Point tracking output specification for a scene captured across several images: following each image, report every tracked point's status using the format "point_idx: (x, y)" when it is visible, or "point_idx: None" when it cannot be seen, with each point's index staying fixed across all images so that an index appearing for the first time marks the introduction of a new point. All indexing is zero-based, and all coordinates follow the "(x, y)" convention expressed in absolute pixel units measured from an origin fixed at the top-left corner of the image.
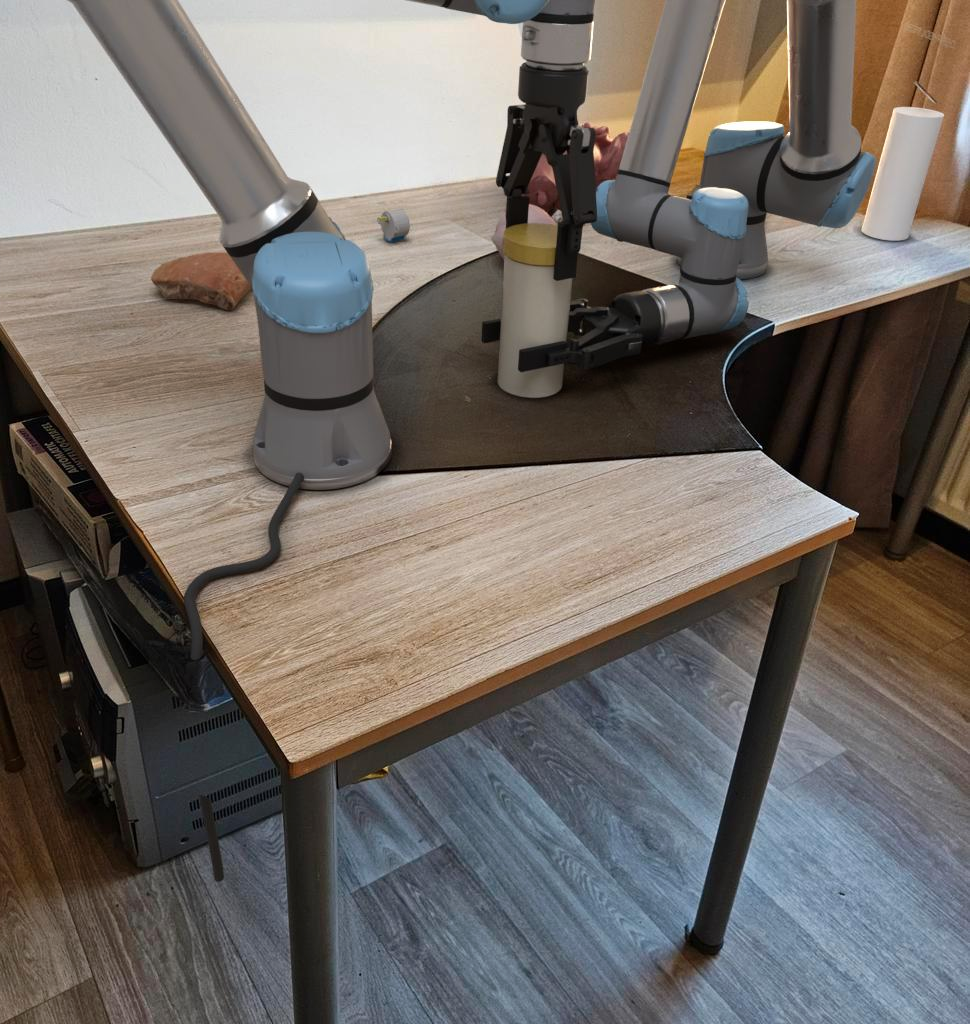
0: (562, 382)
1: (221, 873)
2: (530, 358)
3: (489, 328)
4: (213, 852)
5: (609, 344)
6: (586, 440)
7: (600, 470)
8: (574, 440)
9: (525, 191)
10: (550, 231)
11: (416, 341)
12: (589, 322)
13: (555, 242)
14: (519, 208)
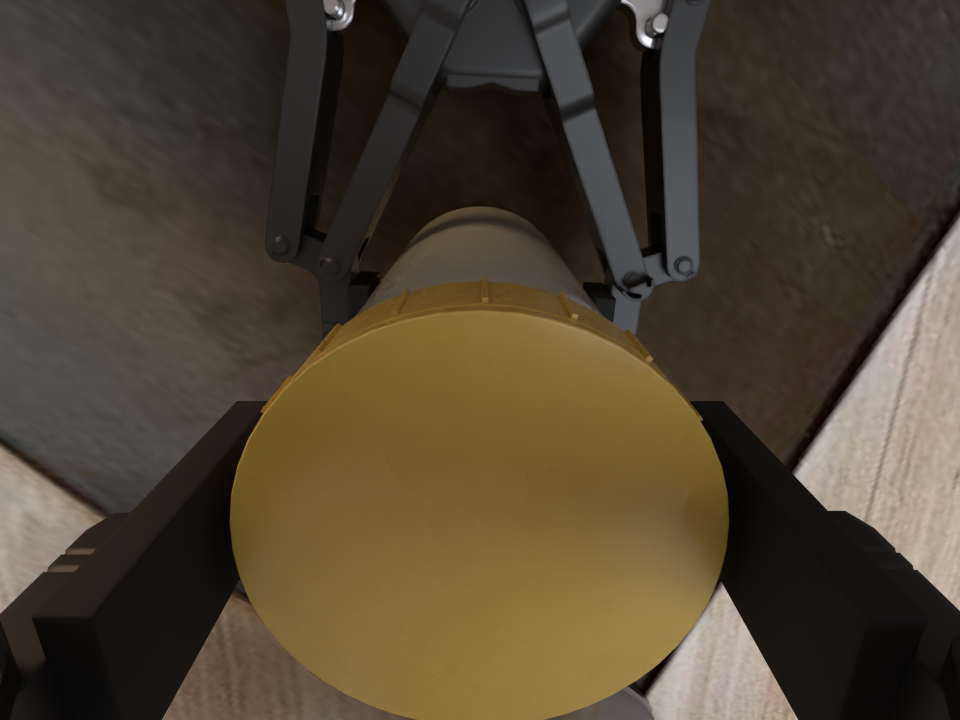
0: (534, 226)
1: None
2: None
3: None
4: None
5: (696, 165)
6: (780, 339)
7: (887, 387)
8: (763, 362)
9: (8, 668)
10: (443, 464)
11: (147, 418)
12: (481, 85)
13: (642, 551)
14: (160, 628)
